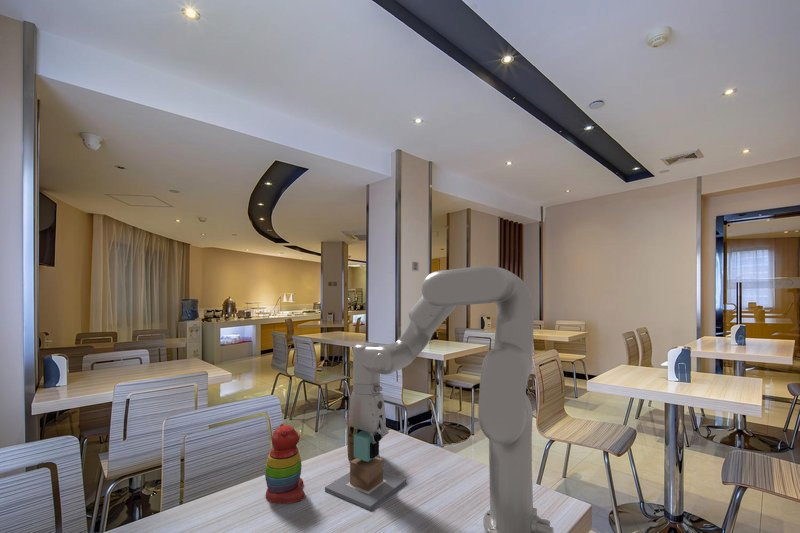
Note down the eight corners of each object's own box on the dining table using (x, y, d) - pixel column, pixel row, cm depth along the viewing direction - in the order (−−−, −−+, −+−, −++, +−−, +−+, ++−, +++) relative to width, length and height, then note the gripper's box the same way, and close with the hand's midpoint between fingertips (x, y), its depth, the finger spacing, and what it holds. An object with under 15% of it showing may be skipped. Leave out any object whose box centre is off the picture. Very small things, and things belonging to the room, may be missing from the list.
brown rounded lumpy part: (370, 463, 117) (370, 398, 118) (346, 464, 116) (346, 399, 117) (370, 448, 128) (370, 389, 129) (348, 449, 127) (348, 390, 128)
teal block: (379, 455, 104) (379, 433, 105) (367, 461, 100) (367, 439, 101) (365, 450, 107) (365, 429, 107) (353, 457, 103) (353, 434, 103)
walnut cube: (383, 480, 104) (383, 458, 104) (368, 491, 99) (368, 468, 99) (365, 474, 108) (365, 453, 108) (350, 484, 102) (350, 461, 103)
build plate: (406, 482, 105) (406, 478, 105) (370, 510, 92) (370, 506, 92) (363, 467, 114) (363, 463, 114) (324, 490, 101) (324, 486, 101)
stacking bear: (305, 501, 96) (306, 430, 97) (263, 508, 93) (264, 435, 94) (302, 480, 107) (303, 417, 108) (265, 486, 104) (266, 421, 105)
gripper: (398, 389, 103) (399, 456, 102) (352, 380, 113) (352, 442, 112) (382, 395, 97) (382, 467, 96) (335, 386, 107) (334, 451, 105)
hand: (366, 453), depth 104 cm, fingers closed on teal block, 4 cm apart
